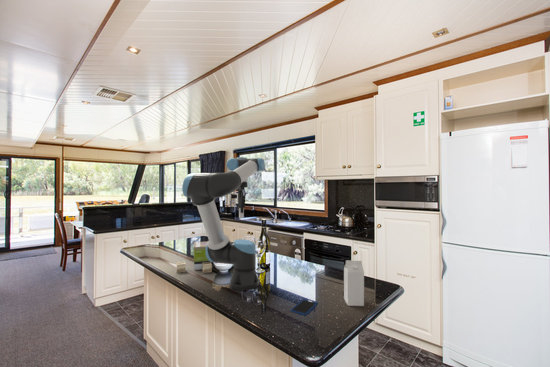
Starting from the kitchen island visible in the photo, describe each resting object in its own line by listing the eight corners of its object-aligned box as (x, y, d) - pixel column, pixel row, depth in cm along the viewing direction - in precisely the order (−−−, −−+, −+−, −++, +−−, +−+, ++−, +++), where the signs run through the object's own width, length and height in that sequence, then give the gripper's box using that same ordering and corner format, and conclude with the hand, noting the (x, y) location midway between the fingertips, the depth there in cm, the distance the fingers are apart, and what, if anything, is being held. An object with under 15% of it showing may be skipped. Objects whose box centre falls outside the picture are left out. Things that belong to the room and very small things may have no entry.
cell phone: (318, 304, 116) (318, 302, 116) (305, 317, 104) (305, 315, 104) (303, 300, 119) (303, 298, 119) (289, 312, 108) (289, 310, 108)
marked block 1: (185, 271, 157) (185, 263, 157) (176, 272, 156) (176, 264, 156) (185, 269, 162) (185, 261, 162) (176, 270, 160) (176, 262, 160)
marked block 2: (211, 272, 157) (211, 263, 157) (203, 273, 155) (203, 264, 156) (210, 269, 162) (210, 261, 162) (202, 270, 160) (202, 262, 160)
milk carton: (343, 299, 120) (344, 258, 120) (359, 299, 120) (359, 258, 120) (347, 306, 113) (347, 262, 113) (364, 306, 113) (364, 263, 113)
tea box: (193, 263, 175) (194, 241, 175) (208, 262, 178) (209, 240, 178) (193, 270, 160) (193, 246, 161) (210, 268, 163) (210, 245, 164)
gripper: (250, 181, 161) (249, 218, 160) (244, 181, 173) (244, 216, 173) (238, 181, 158) (238, 219, 158) (233, 181, 170) (233, 217, 170)
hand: (241, 217), depth 165 cm, fingers closed
